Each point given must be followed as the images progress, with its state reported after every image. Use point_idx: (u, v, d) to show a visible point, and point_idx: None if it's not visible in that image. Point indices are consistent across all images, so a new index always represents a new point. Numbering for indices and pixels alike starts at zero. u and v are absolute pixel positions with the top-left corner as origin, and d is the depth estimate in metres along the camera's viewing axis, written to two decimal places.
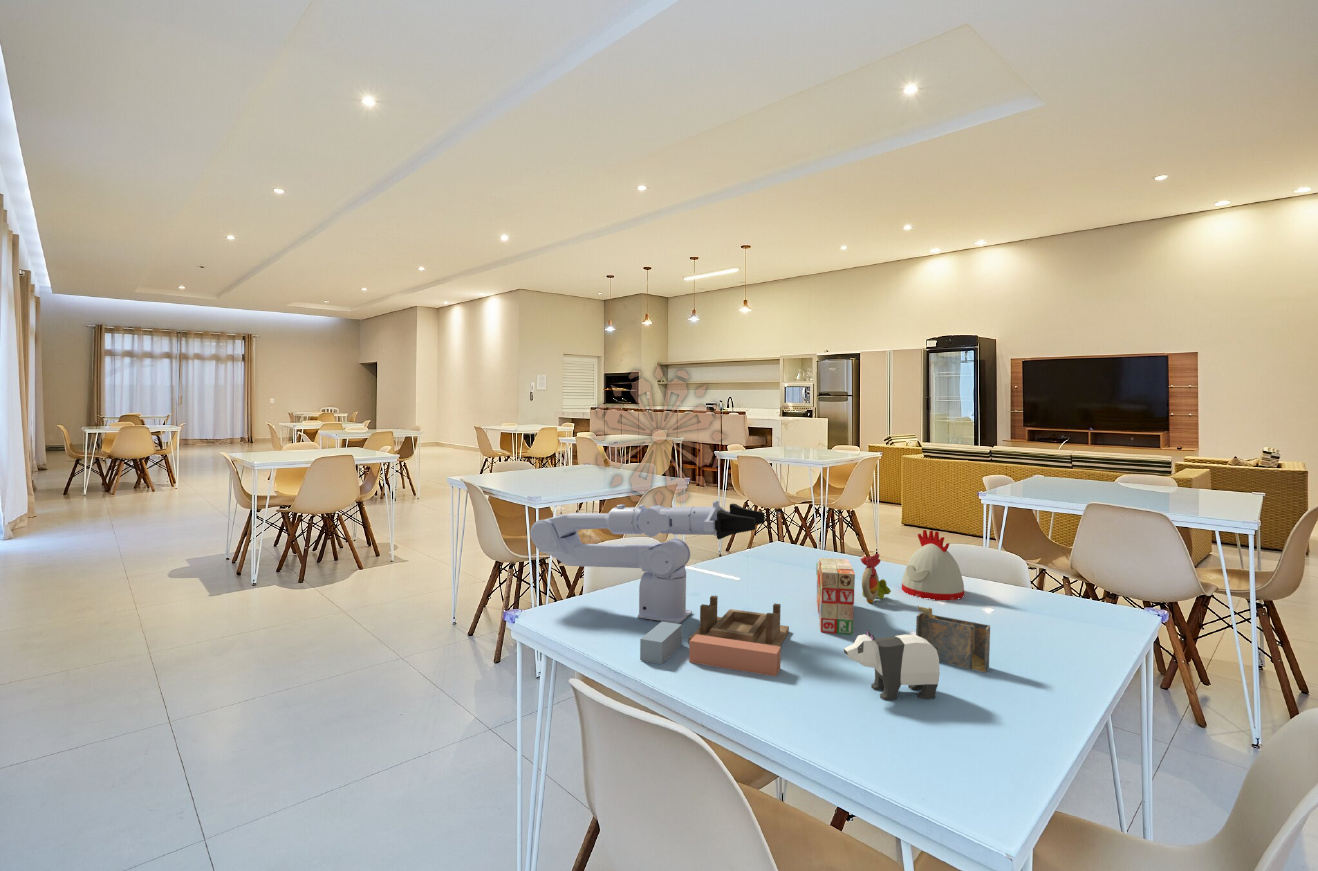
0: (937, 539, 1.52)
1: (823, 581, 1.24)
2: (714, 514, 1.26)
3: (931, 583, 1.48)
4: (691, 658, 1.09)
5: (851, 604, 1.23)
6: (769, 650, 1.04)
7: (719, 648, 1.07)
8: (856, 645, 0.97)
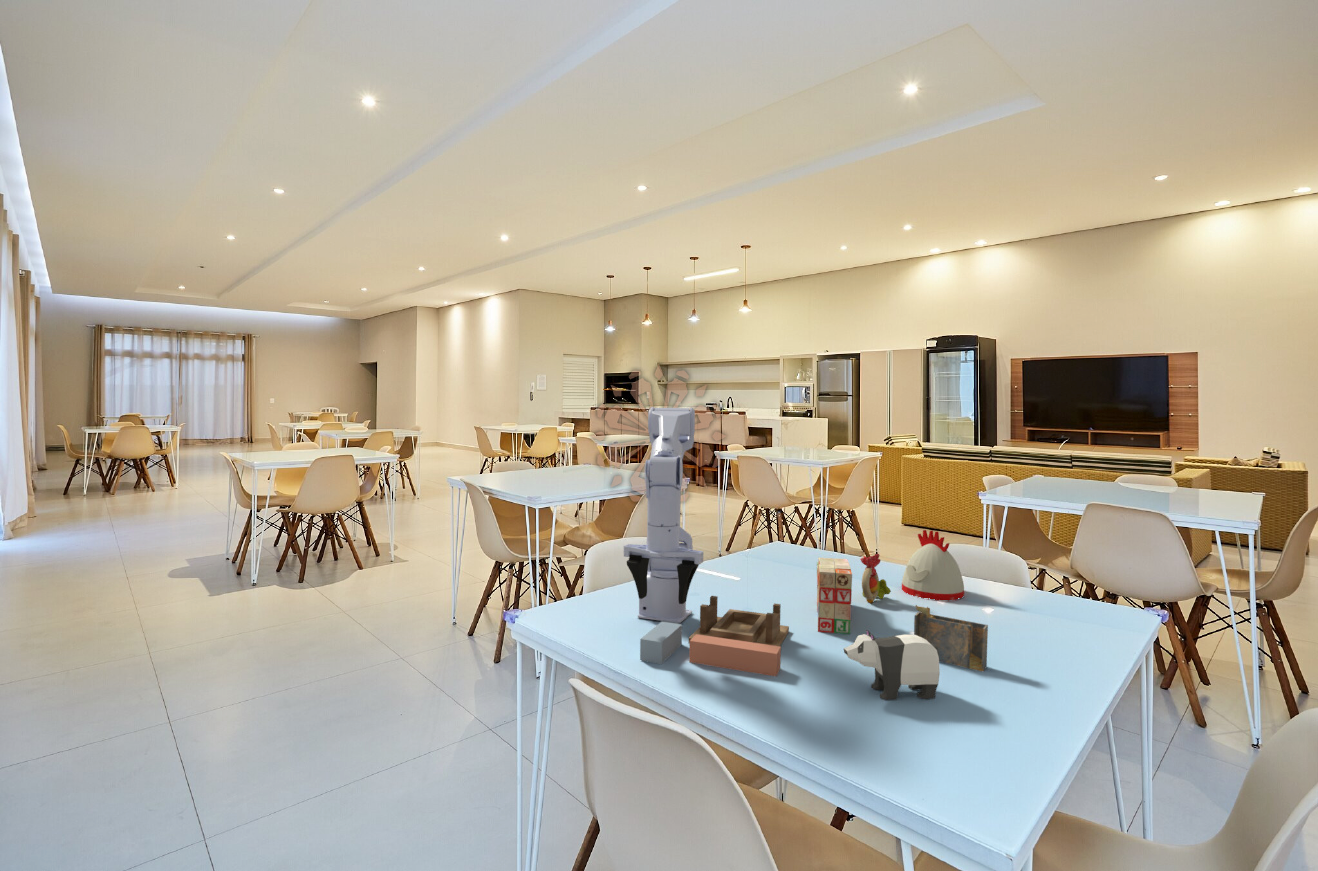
0: (937, 539, 1.52)
1: (820, 581, 1.24)
2: None
3: (931, 583, 1.48)
4: (691, 658, 1.09)
5: (848, 604, 1.23)
6: (769, 650, 1.05)
7: (719, 648, 1.07)
8: (856, 645, 0.97)
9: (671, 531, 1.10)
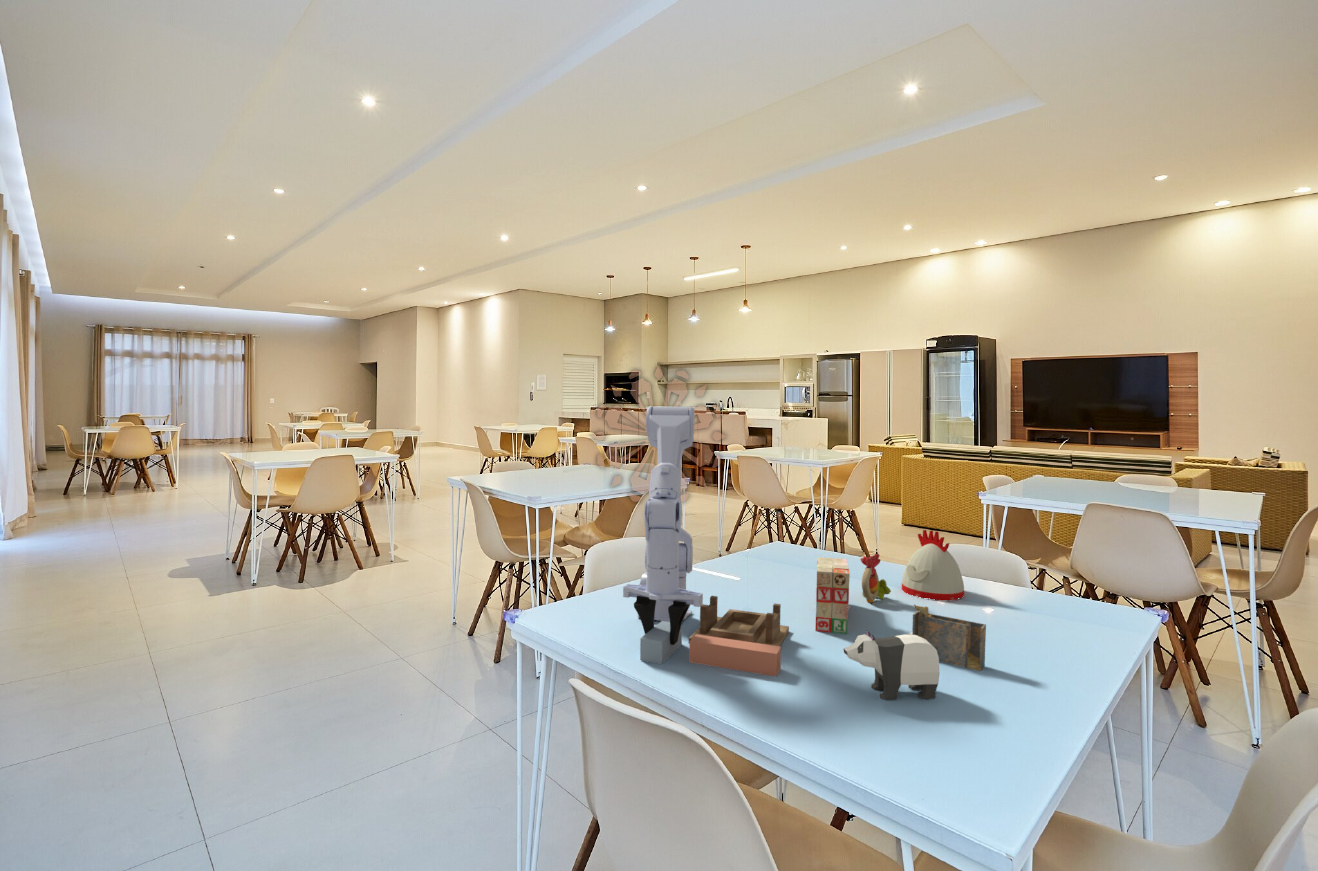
0: (937, 539, 1.52)
1: (818, 580, 1.25)
2: None
3: (931, 583, 1.48)
4: (691, 658, 1.09)
5: (846, 603, 1.24)
6: (769, 650, 1.04)
7: (719, 648, 1.07)
8: (856, 645, 0.97)
9: (670, 573, 1.10)
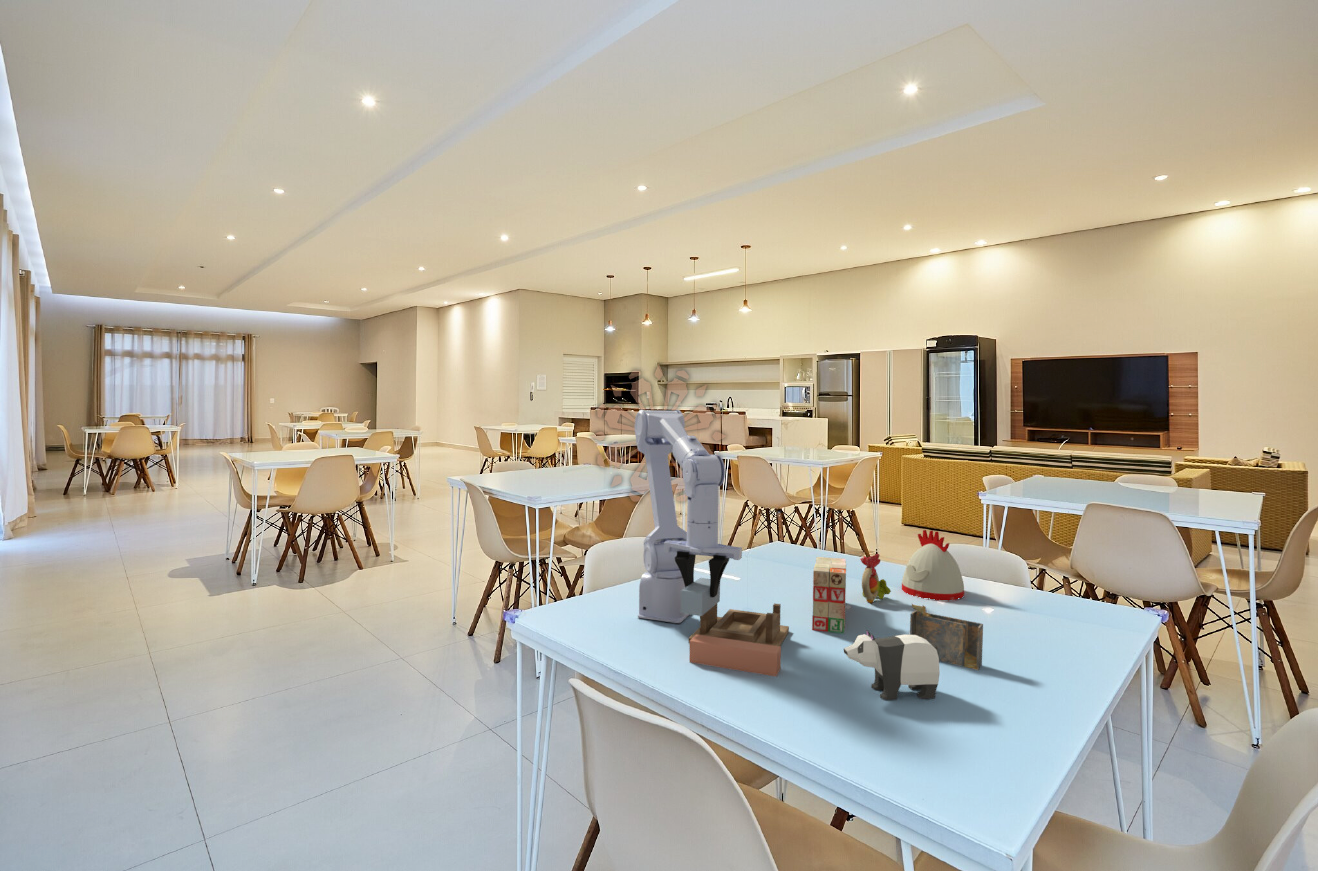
0: (937, 539, 1.52)
1: (814, 579, 1.25)
2: None
3: (931, 583, 1.48)
4: (691, 658, 1.09)
5: (842, 603, 1.24)
6: (769, 650, 1.05)
7: (719, 648, 1.07)
8: (856, 645, 0.97)
9: (711, 528, 1.14)
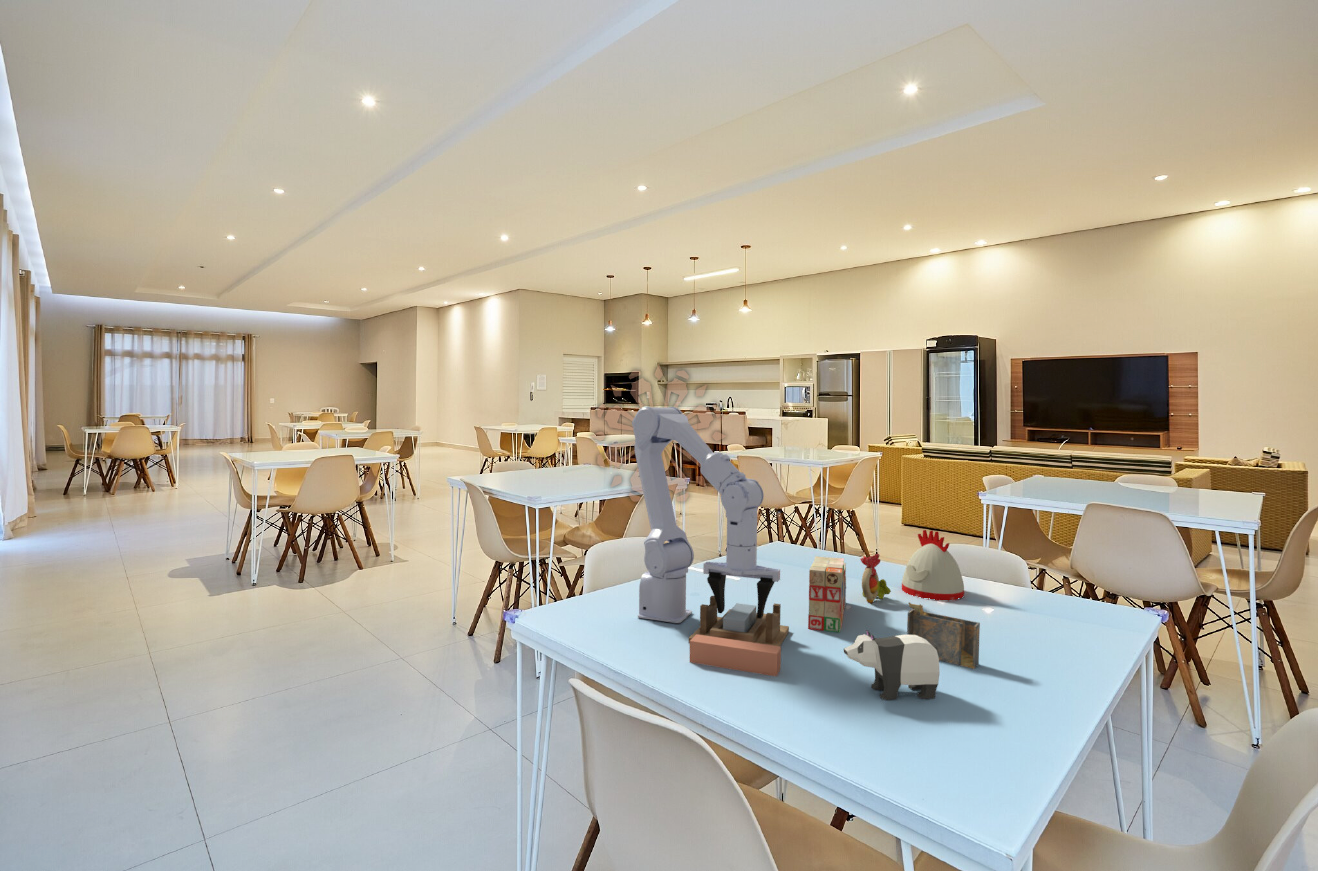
0: (937, 539, 1.52)
1: (810, 578, 1.26)
2: None
3: (931, 583, 1.48)
4: (691, 658, 1.09)
5: (838, 602, 1.24)
6: (769, 650, 1.04)
7: (719, 648, 1.07)
8: (856, 645, 0.97)
9: (750, 551, 1.18)
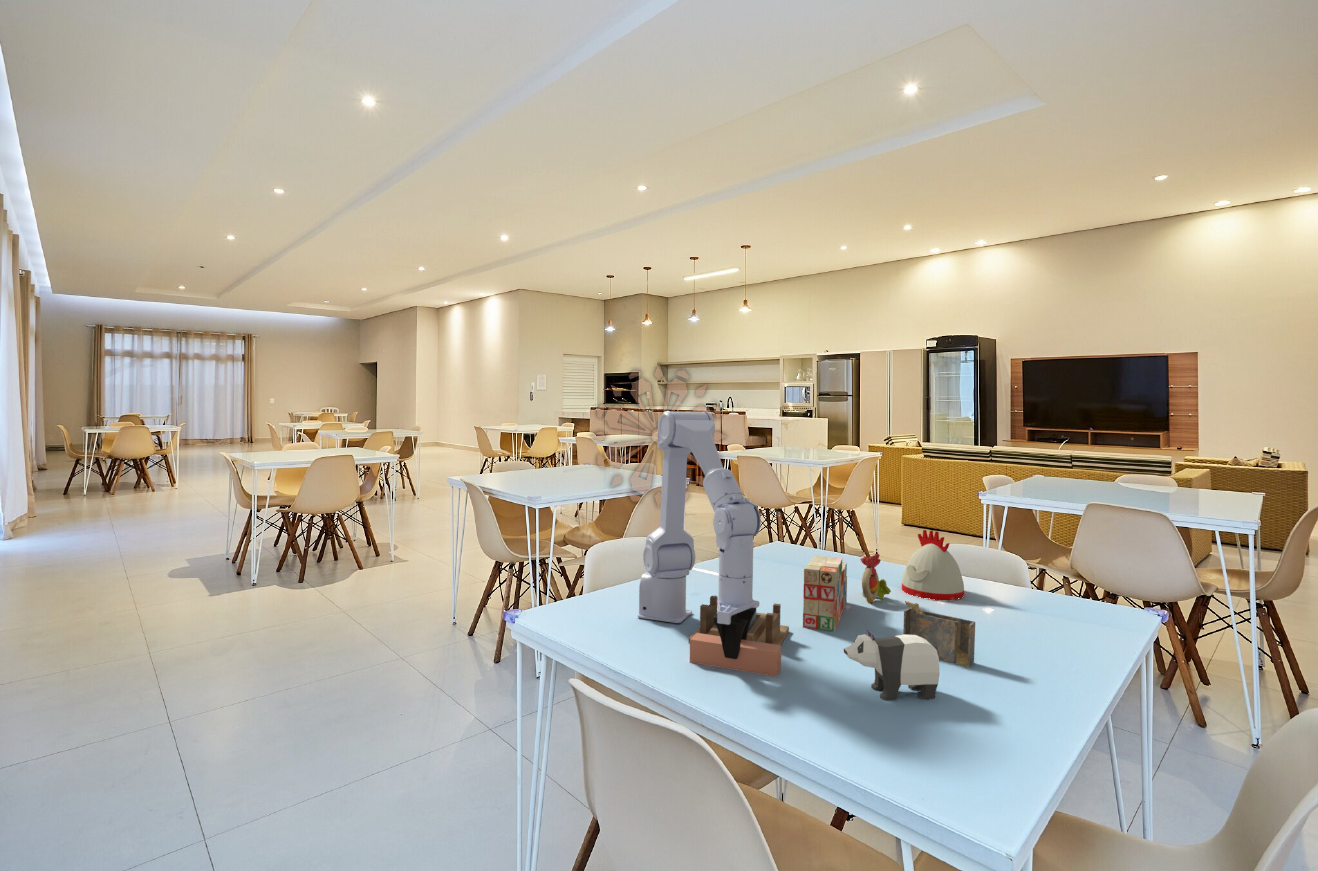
0: (937, 539, 1.52)
1: (805, 577, 1.27)
2: None
3: (931, 583, 1.48)
4: (691, 657, 1.09)
5: (832, 601, 1.25)
6: (769, 649, 1.04)
7: (719, 646, 1.07)
8: (856, 645, 0.97)
9: None
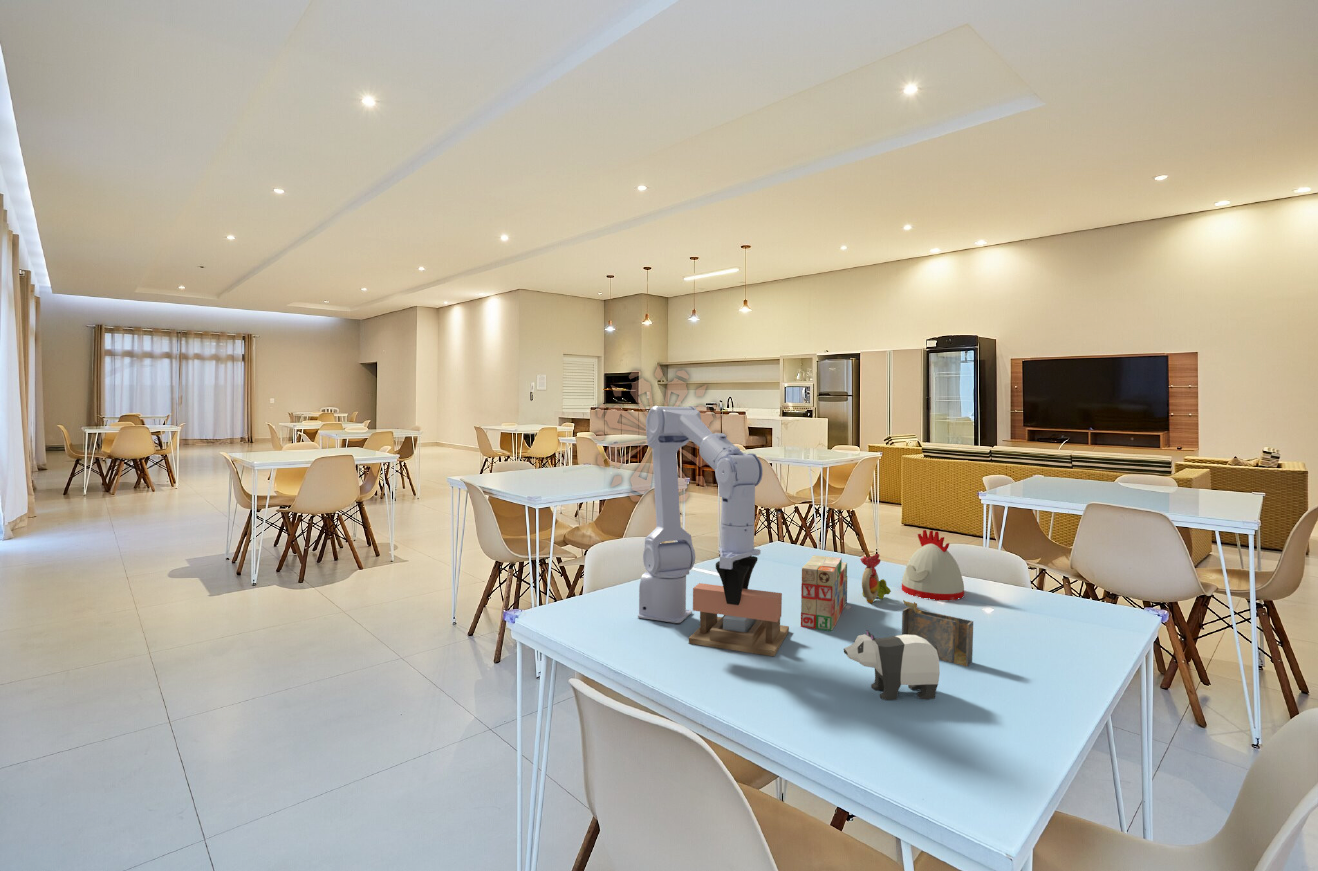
0: (937, 539, 1.52)
1: (803, 577, 1.27)
2: None
3: (931, 583, 1.48)
4: (694, 605, 1.12)
5: (829, 601, 1.25)
6: (770, 596, 1.07)
7: (722, 594, 1.10)
8: (856, 645, 0.97)
9: None
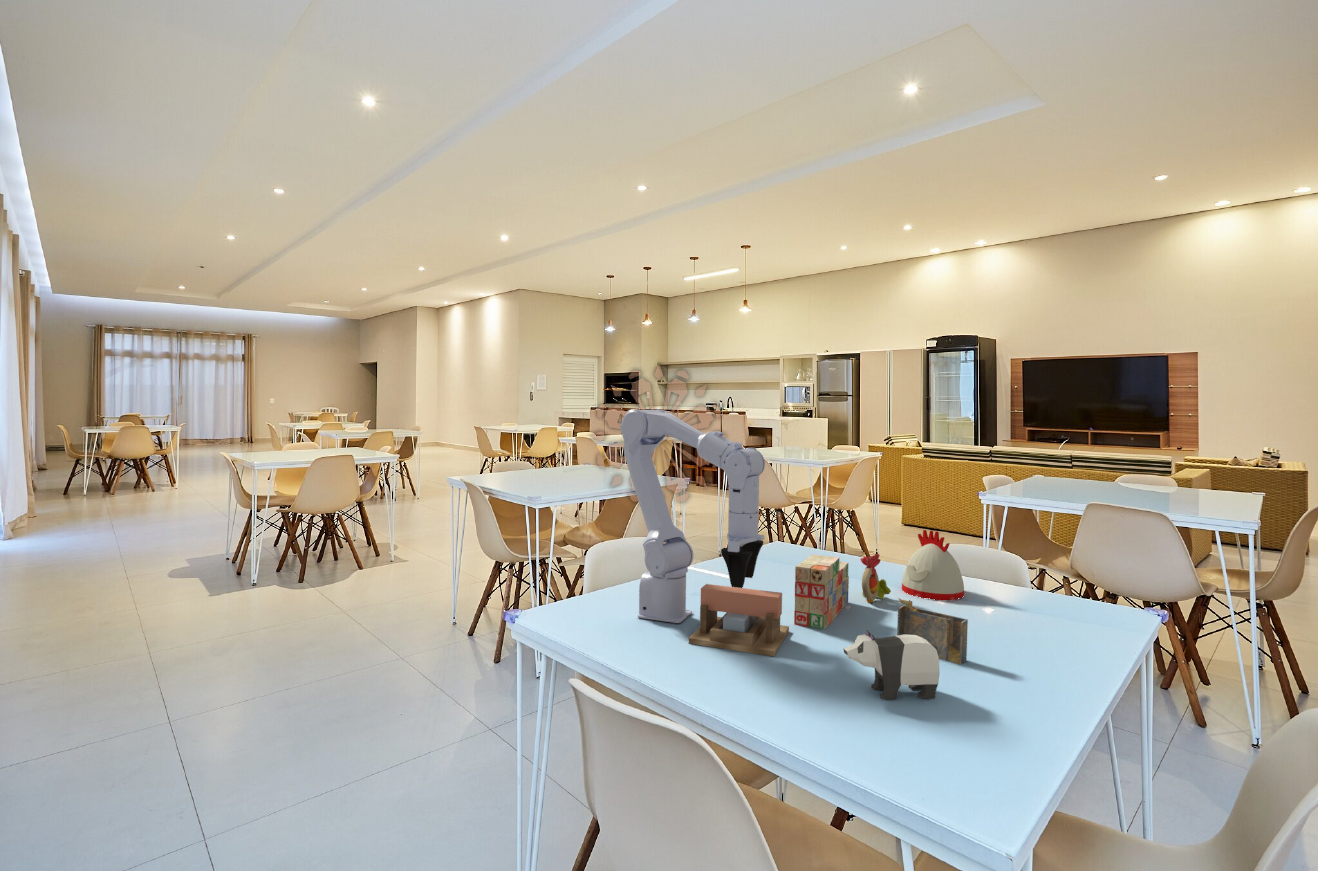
0: (937, 539, 1.52)
1: (796, 575, 1.29)
2: None
3: (932, 583, 1.48)
4: None
5: (822, 599, 1.26)
6: (772, 595, 1.18)
7: (727, 594, 1.20)
8: (856, 645, 0.97)
9: None
